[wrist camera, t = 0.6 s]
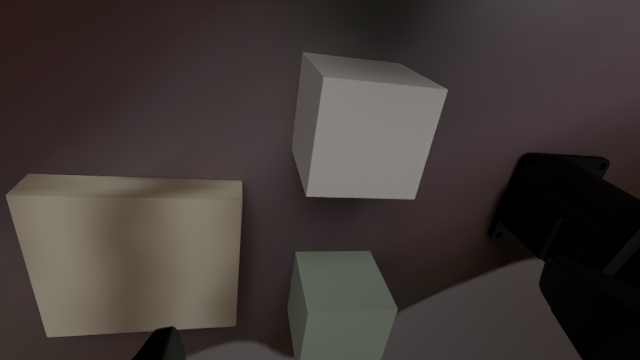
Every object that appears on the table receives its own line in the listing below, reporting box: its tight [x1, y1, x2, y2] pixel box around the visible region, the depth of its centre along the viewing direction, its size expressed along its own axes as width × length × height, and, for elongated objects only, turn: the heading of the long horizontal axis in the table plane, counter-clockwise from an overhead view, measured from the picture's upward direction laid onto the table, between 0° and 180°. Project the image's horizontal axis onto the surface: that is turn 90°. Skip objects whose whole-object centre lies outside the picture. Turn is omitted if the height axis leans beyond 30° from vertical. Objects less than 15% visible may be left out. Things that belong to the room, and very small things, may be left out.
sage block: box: [287, 251, 398, 360], centre depth 23 cm, size 5×5×5 cm
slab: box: [6, 174, 242, 337], centre depth 20 cm, size 10×9×2 cm
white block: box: [292, 52, 448, 199], centre depth 17 cm, size 5×5×5 cm
